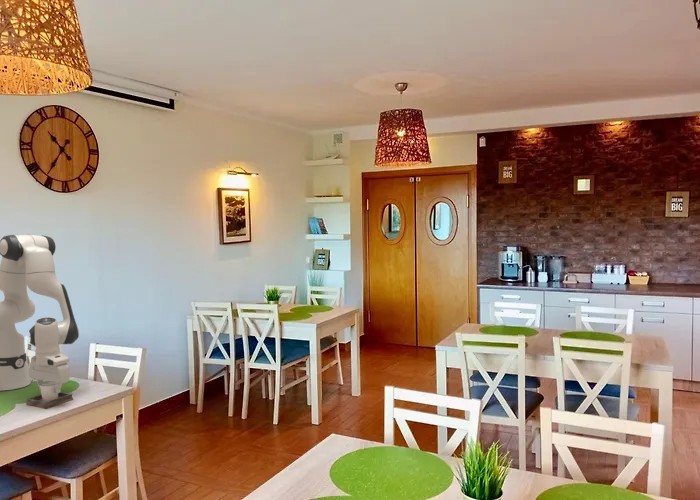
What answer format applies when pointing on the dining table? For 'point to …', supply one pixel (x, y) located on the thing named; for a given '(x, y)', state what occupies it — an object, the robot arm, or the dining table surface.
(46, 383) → the white cup
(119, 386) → the dining table surface
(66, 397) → the tray
